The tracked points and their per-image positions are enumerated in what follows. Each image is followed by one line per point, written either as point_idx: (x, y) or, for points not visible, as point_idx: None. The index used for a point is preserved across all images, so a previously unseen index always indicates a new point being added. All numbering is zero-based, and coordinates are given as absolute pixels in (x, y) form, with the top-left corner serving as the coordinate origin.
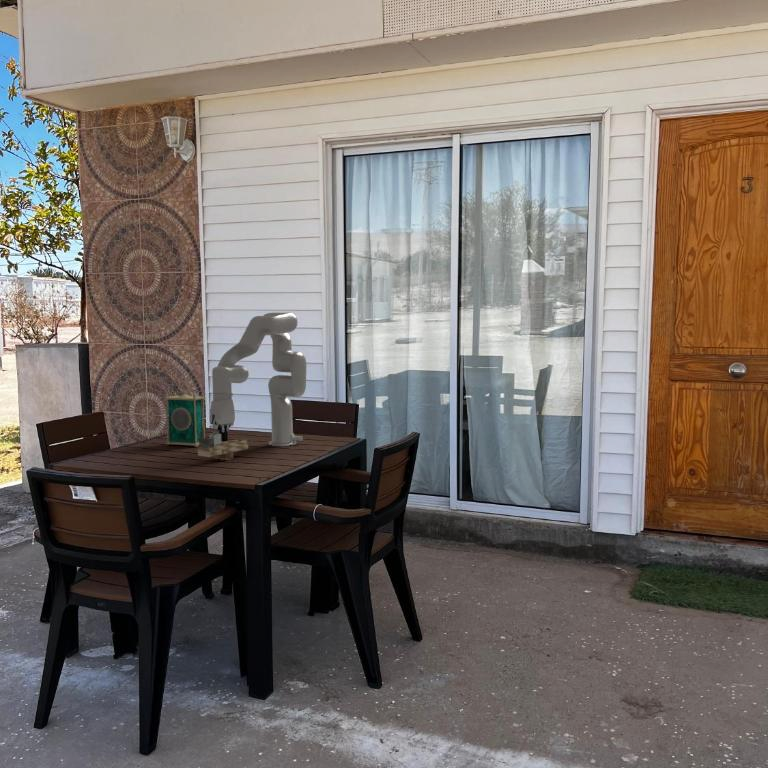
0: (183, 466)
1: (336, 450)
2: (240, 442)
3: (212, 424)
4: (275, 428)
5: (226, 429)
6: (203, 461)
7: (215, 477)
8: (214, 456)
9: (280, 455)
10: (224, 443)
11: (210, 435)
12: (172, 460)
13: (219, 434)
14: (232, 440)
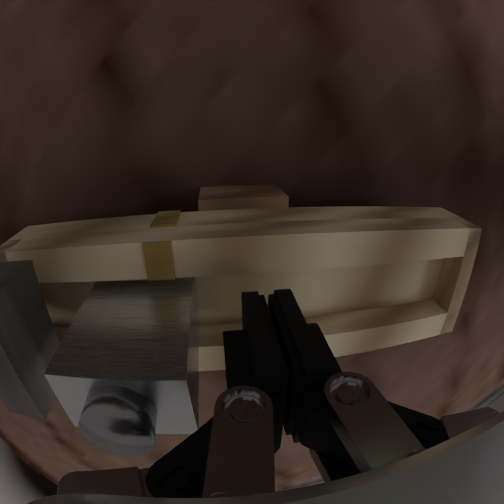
0: None
1: (500, 391)
2: (388, 343)
3: (83, 499)
4: None
5: (313, 458)
6: (99, 191)
7: (32, 441)
8: (199, 193)
9: (432, 368)
10: (307, 264)
11: (55, 379)
12: (23, 11)
13: (170, 427)
14: (428, 240)
